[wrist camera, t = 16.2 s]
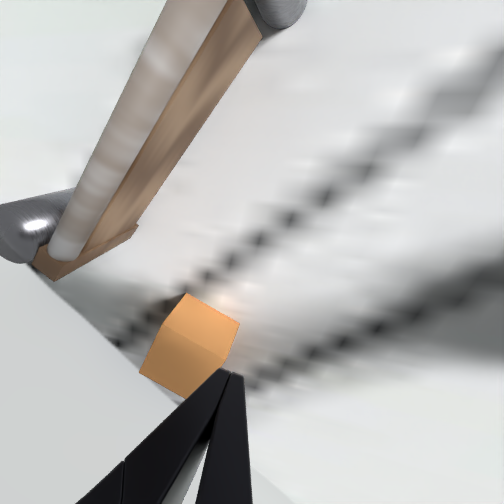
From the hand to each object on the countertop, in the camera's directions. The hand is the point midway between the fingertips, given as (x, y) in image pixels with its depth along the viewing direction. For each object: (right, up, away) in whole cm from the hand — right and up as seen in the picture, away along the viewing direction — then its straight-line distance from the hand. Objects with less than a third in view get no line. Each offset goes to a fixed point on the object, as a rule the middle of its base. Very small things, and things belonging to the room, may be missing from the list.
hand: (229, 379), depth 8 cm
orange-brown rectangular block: (-4, -3, +14) cm, 15 cm away
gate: (-4, +10, +8) cm, 13 cm away
